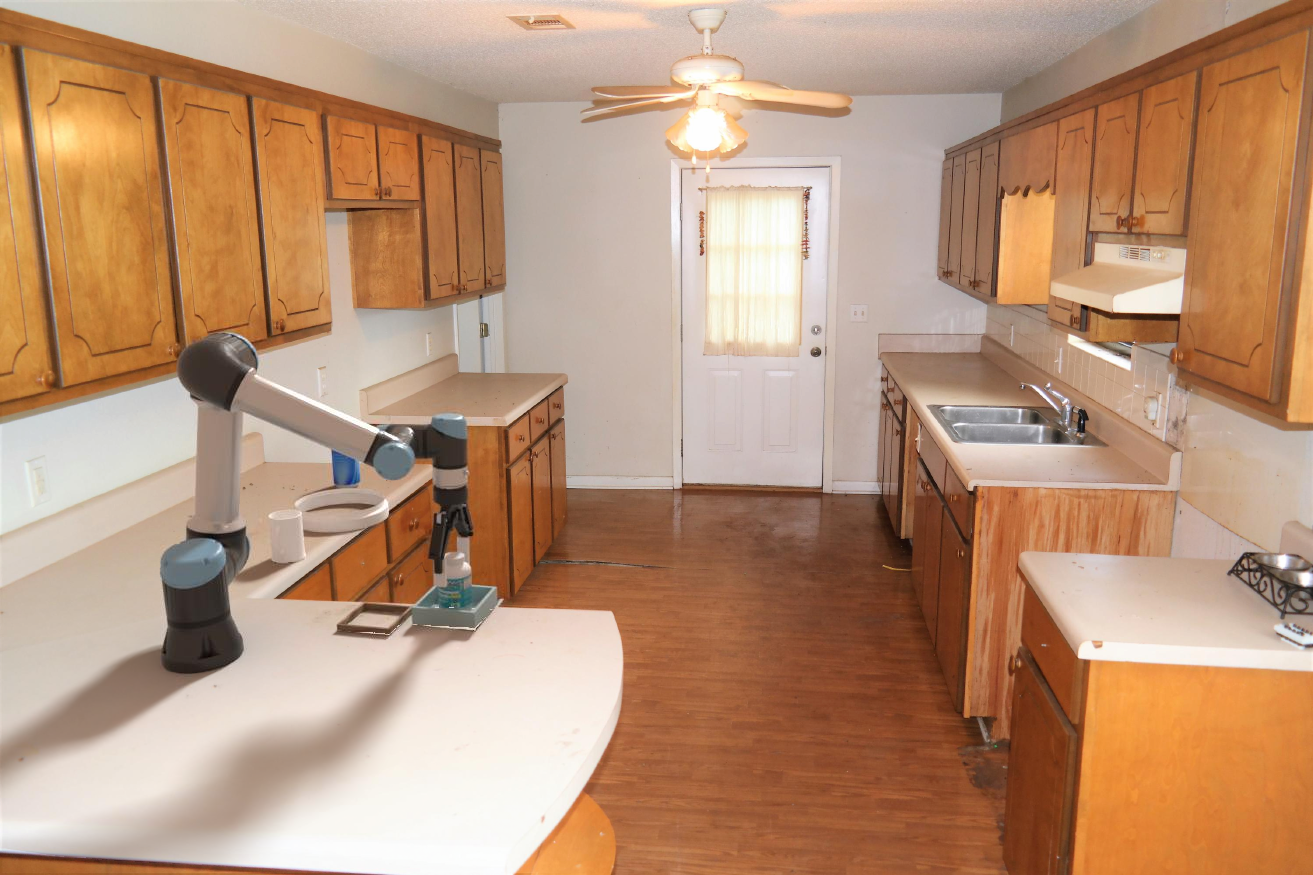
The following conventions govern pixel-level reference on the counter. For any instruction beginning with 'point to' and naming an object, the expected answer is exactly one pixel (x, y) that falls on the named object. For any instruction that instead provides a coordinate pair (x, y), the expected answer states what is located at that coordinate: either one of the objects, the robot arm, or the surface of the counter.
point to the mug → (286, 536)
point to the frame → (405, 610)
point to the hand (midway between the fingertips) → (452, 574)
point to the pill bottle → (456, 584)
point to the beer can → (345, 470)
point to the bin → (430, 615)
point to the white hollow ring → (344, 519)
